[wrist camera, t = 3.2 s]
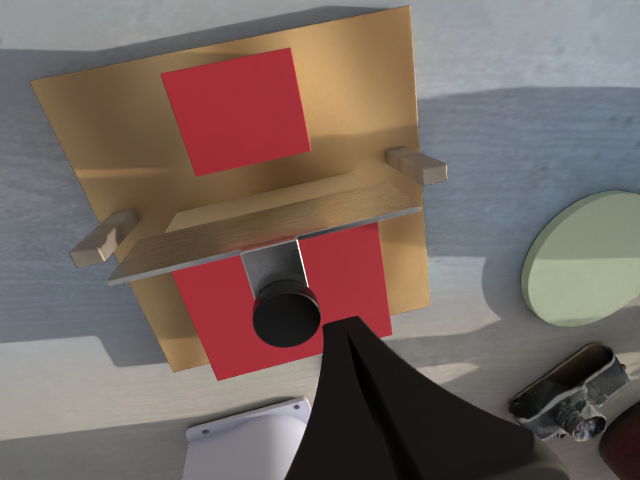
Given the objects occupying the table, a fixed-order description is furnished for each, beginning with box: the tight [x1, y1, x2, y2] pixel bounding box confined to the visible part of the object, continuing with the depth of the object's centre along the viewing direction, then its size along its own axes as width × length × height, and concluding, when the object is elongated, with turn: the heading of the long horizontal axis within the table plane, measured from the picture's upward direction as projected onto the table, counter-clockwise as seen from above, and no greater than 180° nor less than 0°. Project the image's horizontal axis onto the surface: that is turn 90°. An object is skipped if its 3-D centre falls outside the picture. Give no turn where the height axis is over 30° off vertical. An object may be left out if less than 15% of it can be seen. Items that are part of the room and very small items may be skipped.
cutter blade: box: [106, 181, 421, 348], centre depth 14 cm, size 11×4×5 cm, turn 101°
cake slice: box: [161, 47, 311, 177], centre depth 16 cm, size 5×4×4 cm
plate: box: [521, 190, 640, 327], centre depth 26 cm, size 11×11×1 cm
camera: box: [509, 343, 630, 442], centre depth 30 cm, size 5×10×4 cm, turn 131°
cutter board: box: [30, 5, 447, 372], centre depth 19 cm, size 18×18×6 cm
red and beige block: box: [165, 172, 392, 381], centre depth 20 cm, size 10×9×4 cm
